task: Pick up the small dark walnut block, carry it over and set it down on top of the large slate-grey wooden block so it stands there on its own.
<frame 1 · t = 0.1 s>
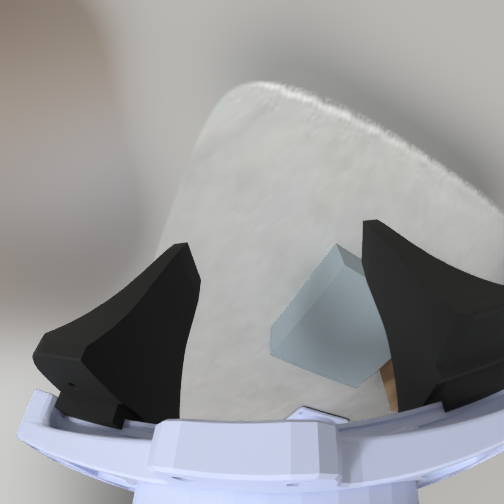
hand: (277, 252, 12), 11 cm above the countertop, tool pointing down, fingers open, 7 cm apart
walnut block: (404, 360, 28), on the countertop
slate block: (345, 310, 26), on the countertop
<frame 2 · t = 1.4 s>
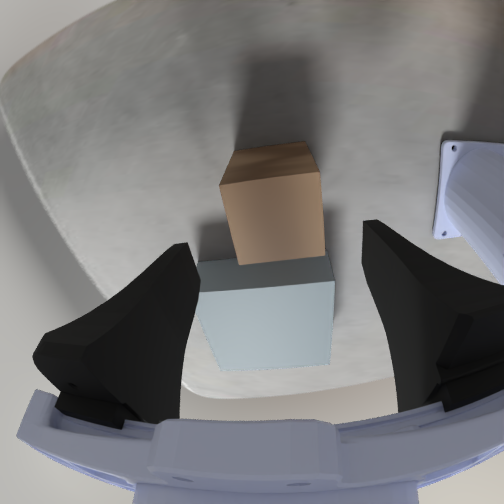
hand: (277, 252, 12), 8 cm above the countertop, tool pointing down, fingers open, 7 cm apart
walnut block: (274, 178, 19), on the countertop
slate block: (268, 300, 25), on the countertop
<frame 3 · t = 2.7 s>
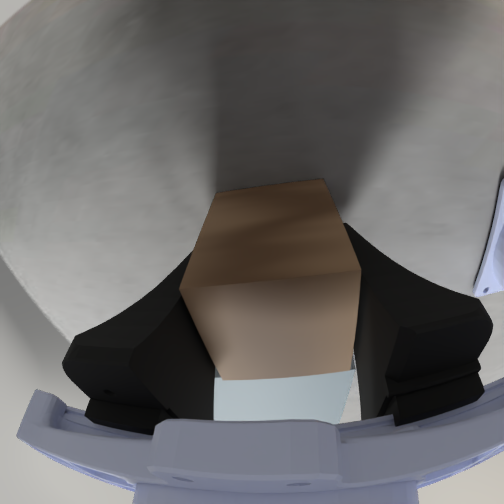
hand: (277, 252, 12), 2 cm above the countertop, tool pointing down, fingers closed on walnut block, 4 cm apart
walnut block: (276, 231, 13), on the countertop, touching gripper
slate block: (267, 365, 20), on the countertop
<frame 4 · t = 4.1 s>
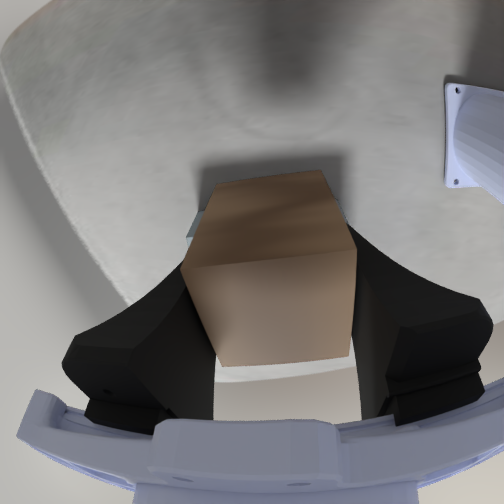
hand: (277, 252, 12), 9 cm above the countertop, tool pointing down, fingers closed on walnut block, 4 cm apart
walnut block: (275, 222, 13), point 7 cm above the countertop, touching gripper
when the fingers open (7 cm above the countertop, at t = 5.4 s): walnut block stays where it is, resting on slate block.
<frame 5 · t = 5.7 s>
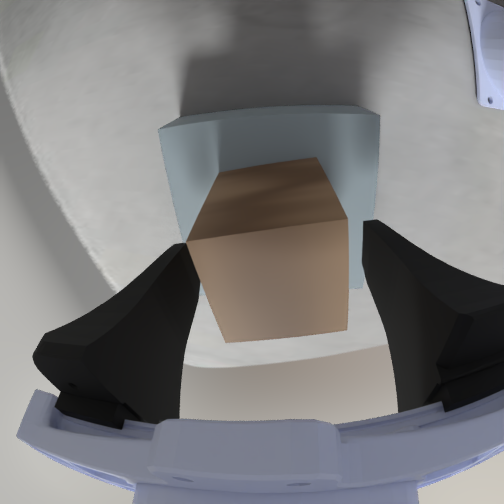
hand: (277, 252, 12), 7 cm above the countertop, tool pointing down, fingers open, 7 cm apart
walnut block: (275, 208, 14), point 4 cm above the countertop, touching slate block
slate block: (274, 186, 18), on the countertop, touching walnut block
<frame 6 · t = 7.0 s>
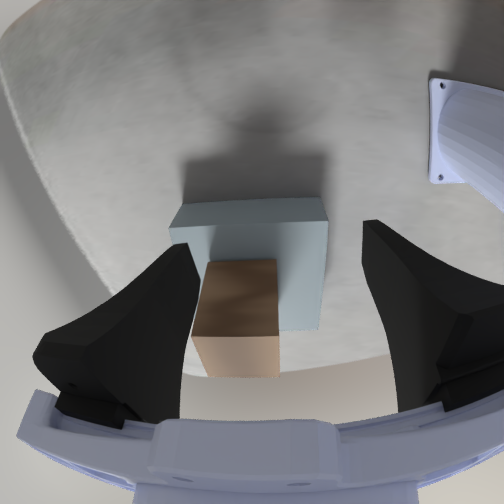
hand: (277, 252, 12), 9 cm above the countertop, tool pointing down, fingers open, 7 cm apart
walnut block: (245, 285, 20), point 4 cm above the countertop
slate block: (255, 253, 24), on the countertop
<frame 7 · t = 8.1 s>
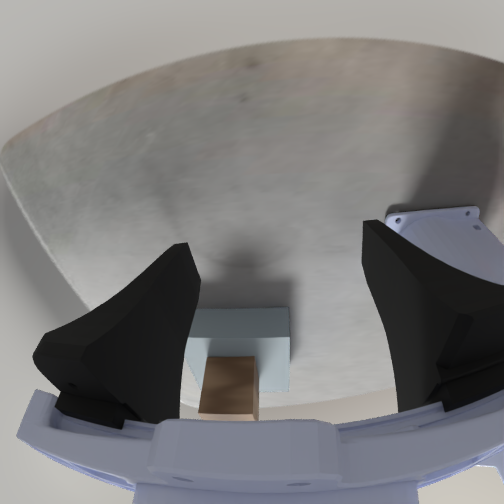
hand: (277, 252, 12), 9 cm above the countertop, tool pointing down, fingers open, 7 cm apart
walnut block: (234, 369, 27), point 4 cm above the countertop, touching slate block
slate block: (241, 338, 30), on the countertop, touching walnut block
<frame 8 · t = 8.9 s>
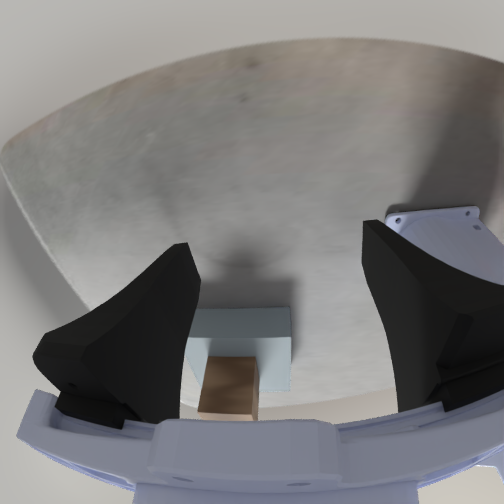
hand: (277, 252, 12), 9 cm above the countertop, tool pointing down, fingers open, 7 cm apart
walnut block: (234, 369, 27), point 4 cm above the countertop, touching slate block
slate block: (242, 337, 30), on the countertop, touching walnut block
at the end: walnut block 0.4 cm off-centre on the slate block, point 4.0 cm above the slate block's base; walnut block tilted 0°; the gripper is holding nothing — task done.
